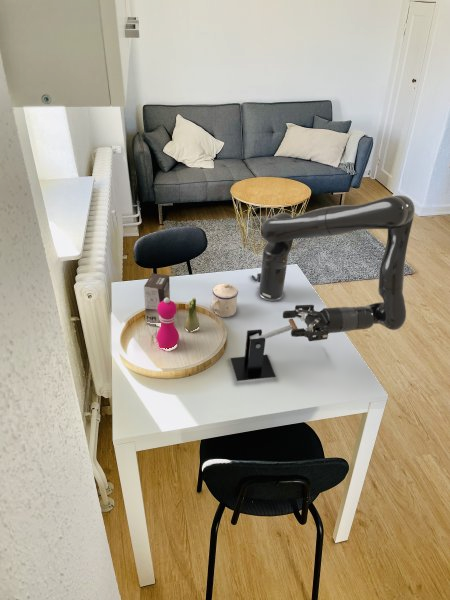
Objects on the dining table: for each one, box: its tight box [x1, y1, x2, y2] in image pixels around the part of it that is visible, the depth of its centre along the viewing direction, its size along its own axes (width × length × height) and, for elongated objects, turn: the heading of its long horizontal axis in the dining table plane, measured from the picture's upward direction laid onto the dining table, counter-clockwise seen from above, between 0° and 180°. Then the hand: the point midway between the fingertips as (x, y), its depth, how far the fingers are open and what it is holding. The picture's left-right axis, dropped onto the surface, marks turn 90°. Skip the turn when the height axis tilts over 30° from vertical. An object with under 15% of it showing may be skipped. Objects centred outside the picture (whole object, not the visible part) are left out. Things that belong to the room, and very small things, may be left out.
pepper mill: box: [156, 297, 180, 349], centre depth 143 cm, size 7×7×20 cm
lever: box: [250, 318, 299, 340], centre depth 135 cm, size 14×6×2 cm, turn 100°
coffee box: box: [143, 272, 171, 327], centre depth 157 cm, size 9×6×16 cm
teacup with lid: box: [210, 282, 239, 318], centre depth 163 cm, size 12×9×12 cm
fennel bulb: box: [184, 297, 200, 331], centre depth 153 cm, size 6×5×12 cm
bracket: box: [230, 328, 276, 382], centre depth 138 cm, size 12×10×14 cm
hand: (287, 323), depth 134 cm, fingers open, 8 cm apart
